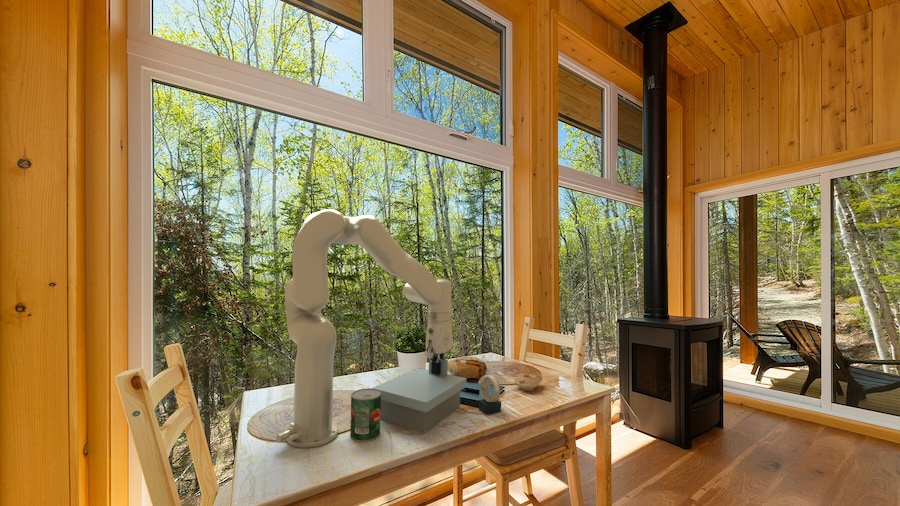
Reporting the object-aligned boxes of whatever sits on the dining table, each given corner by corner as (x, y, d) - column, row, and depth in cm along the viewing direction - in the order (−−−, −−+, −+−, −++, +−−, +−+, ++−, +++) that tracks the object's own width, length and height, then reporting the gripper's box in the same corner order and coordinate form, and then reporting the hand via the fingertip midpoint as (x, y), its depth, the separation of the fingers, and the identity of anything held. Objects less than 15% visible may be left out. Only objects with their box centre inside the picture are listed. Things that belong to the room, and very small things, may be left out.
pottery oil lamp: (550, 386, 136) (551, 372, 132) (527, 403, 130) (527, 389, 127) (533, 372, 142) (533, 359, 139) (510, 387, 136) (510, 374, 133)
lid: (426, 412, 97) (426, 383, 97) (372, 397, 106) (372, 370, 106) (466, 386, 117) (466, 362, 117) (417, 375, 126) (418, 353, 126)
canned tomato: (348, 430, 100) (349, 390, 100) (376, 425, 103) (377, 386, 103) (352, 444, 92) (353, 401, 92) (383, 439, 95) (384, 397, 96)
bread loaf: (503, 385, 138) (470, 394, 131) (471, 366, 157) (441, 373, 149) (503, 365, 138) (470, 373, 130) (471, 348, 156) (441, 354, 148)
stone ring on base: (489, 404, 119) (490, 370, 119) (504, 414, 112) (505, 378, 112) (475, 407, 116) (475, 373, 117) (489, 417, 109) (489, 381, 109)
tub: (424, 433, 99) (425, 403, 99) (379, 419, 107) (379, 391, 107) (459, 407, 116) (460, 382, 116) (418, 396, 124) (419, 373, 124)
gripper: (436, 321, 111) (434, 382, 111) (460, 314, 125) (459, 368, 125) (416, 319, 115) (414, 377, 115) (442, 312, 129) (441, 365, 128)
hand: (438, 372), depth 120 cm, fingers closed on lid
